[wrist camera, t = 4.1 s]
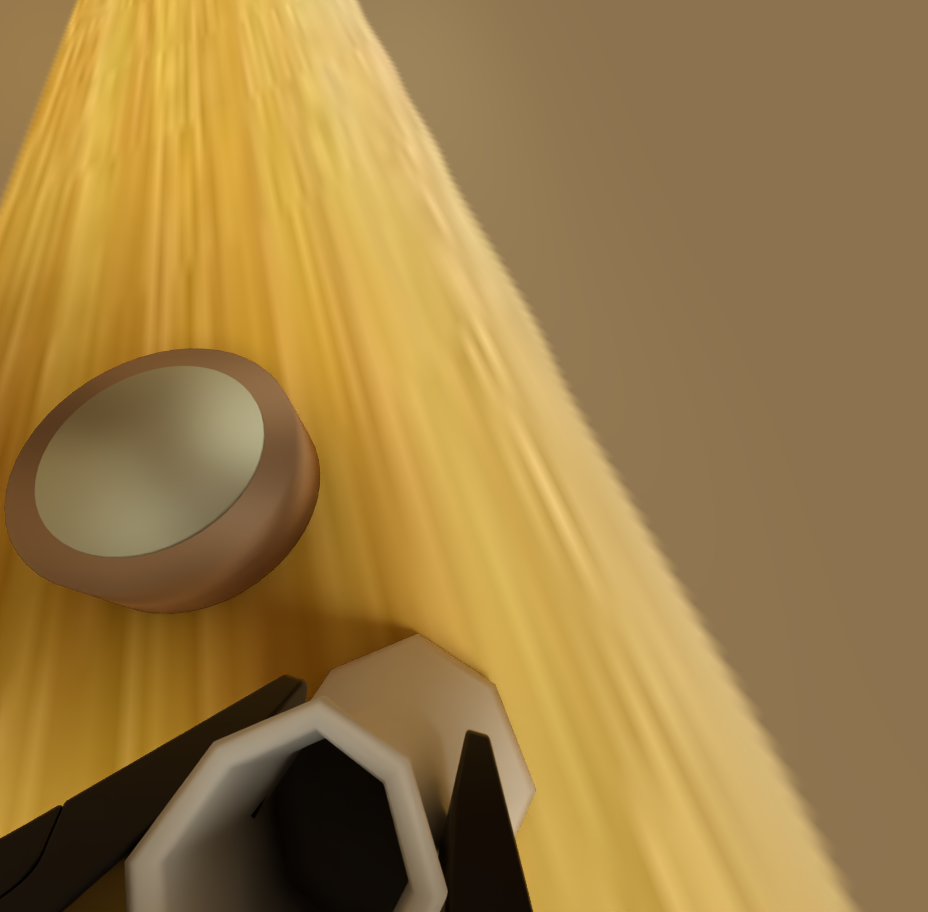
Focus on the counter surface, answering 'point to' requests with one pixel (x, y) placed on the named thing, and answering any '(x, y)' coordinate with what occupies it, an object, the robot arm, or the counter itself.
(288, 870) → the flask
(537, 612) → the counter surface
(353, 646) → the counter surface
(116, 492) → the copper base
